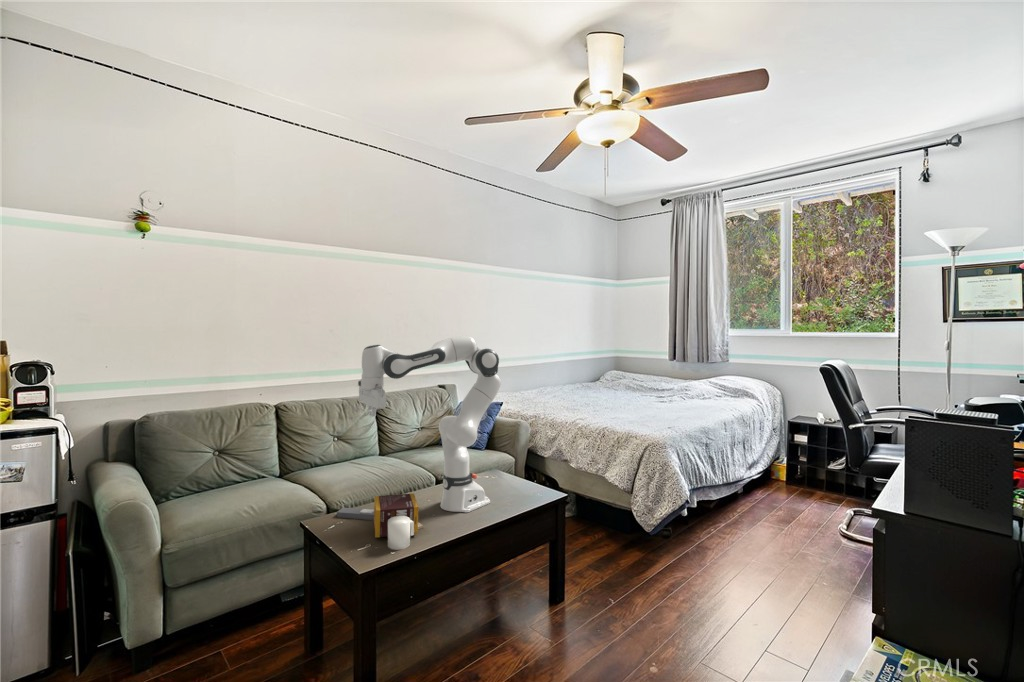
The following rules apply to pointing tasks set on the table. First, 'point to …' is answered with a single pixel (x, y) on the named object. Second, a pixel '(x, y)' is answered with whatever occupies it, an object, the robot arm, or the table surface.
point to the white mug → (399, 532)
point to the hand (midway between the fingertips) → (372, 416)
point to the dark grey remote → (356, 513)
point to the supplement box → (394, 511)
